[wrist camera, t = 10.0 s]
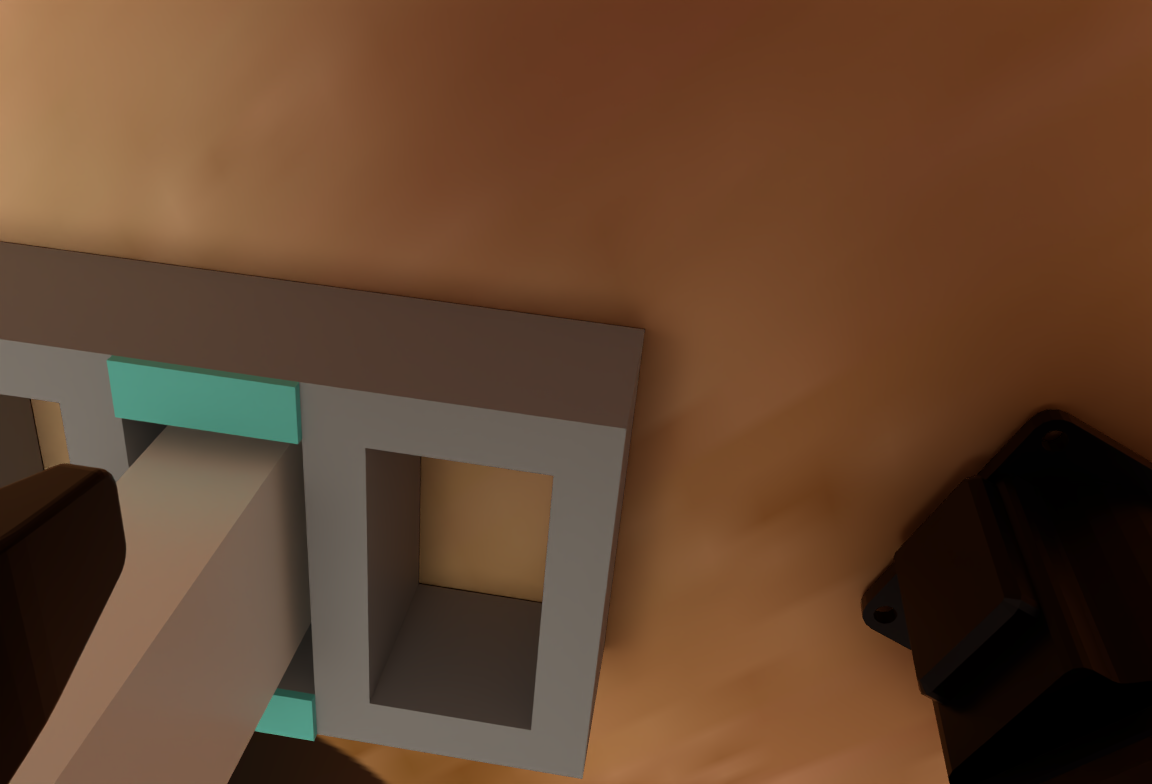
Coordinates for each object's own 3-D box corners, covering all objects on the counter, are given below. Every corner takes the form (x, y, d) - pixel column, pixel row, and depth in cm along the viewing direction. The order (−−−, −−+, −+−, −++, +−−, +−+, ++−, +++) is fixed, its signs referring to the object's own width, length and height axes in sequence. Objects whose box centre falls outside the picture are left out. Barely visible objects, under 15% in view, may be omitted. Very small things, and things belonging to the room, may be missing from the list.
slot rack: (644, 329, 22) (625, 434, 19) (603, 650, 27) (581, 786, 23) (-54, 234, 23) (-200, 316, 20) (17, 556, 28) (-92, 671, 24)
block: (343, 366, 24) (30, 817, 13) (350, 546, 26) (90, 1044, 16) (234, 351, 24) (-157, 784, 14) (251, 532, 26) (-69, 1013, 16)
